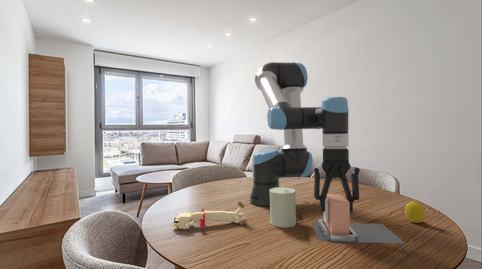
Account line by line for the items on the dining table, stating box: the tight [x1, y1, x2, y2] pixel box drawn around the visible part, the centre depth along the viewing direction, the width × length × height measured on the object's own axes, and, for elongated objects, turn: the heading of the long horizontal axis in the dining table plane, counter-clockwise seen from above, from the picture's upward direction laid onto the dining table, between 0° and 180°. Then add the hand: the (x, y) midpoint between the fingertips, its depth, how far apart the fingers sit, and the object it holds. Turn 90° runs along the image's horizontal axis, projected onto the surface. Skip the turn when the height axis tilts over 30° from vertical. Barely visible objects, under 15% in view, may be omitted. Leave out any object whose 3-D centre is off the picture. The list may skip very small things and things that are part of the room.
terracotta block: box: [325, 193, 351, 235], centre depth 76 cm, size 9×5×10 cm, turn 174°
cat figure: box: [171, 200, 247, 230], centre depth 86 cm, size 10×9×25 cm
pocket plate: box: [311, 218, 406, 245], centre depth 76 cm, size 23×14×2 cm, turn 84°
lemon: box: [404, 200, 426, 224], centre depth 82 cm, size 6×6×8 cm
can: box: [269, 186, 297, 229], centre depth 86 cm, size 9×9×12 cm
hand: (336, 221), depth 76 cm, fingers open, 6 cm apart
